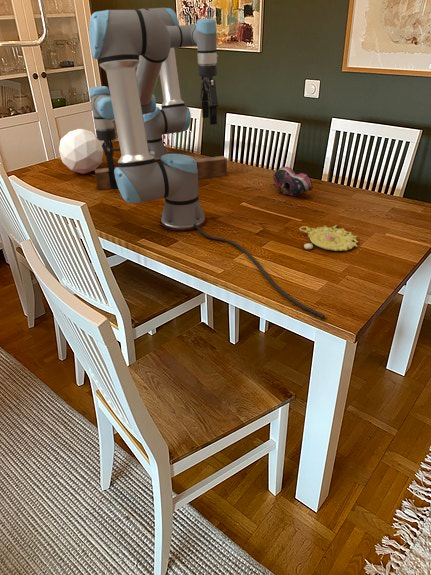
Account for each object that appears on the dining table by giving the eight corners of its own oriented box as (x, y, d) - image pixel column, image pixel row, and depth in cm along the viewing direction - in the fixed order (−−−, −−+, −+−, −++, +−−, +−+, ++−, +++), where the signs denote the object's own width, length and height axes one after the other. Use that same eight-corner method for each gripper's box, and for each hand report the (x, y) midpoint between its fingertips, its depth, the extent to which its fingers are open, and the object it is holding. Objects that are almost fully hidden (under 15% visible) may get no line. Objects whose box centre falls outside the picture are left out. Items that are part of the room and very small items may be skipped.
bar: (98, 189, 186) (95, 172, 182) (97, 186, 190) (94, 169, 186) (226, 175, 198) (226, 159, 194) (223, 171, 202) (223, 155, 198)
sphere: (90, 188, 207) (76, 163, 188) (59, 168, 212) (42, 141, 193) (116, 160, 212) (105, 132, 193) (86, 141, 216) (72, 112, 198)
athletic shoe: (283, 166, 186) (259, 173, 182) (313, 160, 166) (287, 167, 162) (289, 193, 189) (265, 200, 185) (319, 190, 169) (293, 198, 165)
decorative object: (343, 255, 128) (285, 234, 139) (342, 262, 130) (284, 241, 140) (372, 230, 142) (317, 213, 152) (371, 237, 143) (316, 219, 153)
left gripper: (225, 67, 165) (226, 126, 176) (209, 61, 185) (210, 114, 197) (205, 68, 163) (207, 128, 175) (191, 62, 184) (194, 115, 195)
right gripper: (116, 133, 170) (124, 191, 183) (113, 123, 185) (120, 177, 198) (96, 134, 169) (106, 193, 181) (94, 124, 184) (103, 179, 196)
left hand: (209, 121), depth 186 cm, fingers open, 13 cm apart
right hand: (113, 184), depth 189 cm, fingers closed on bar, 5 cm apart
